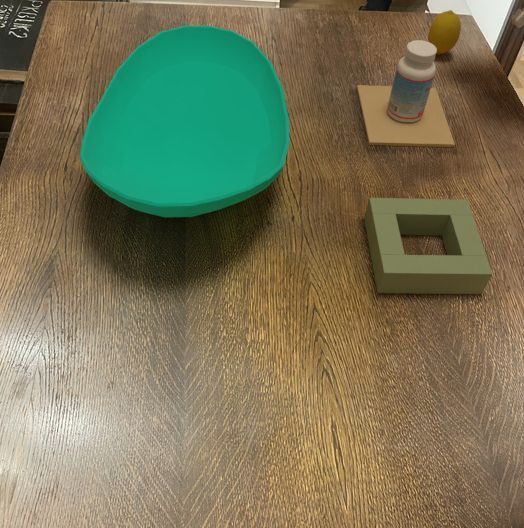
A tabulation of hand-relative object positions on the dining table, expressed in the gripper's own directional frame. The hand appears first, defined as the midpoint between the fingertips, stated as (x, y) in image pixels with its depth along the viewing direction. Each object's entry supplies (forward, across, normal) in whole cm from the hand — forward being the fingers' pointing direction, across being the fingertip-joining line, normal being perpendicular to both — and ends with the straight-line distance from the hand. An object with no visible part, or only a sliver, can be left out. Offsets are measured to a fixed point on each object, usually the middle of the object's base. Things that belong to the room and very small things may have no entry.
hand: (493, 9), depth 93 cm
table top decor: (+48, -1, +26) cm, 54 cm away
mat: (+20, 0, -2) cm, 20 cm away
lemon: (+7, +14, -15) cm, 21 cm away
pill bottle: (+19, 0, -2) cm, 19 cm away
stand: (+32, -27, +10) cm, 43 cm away
